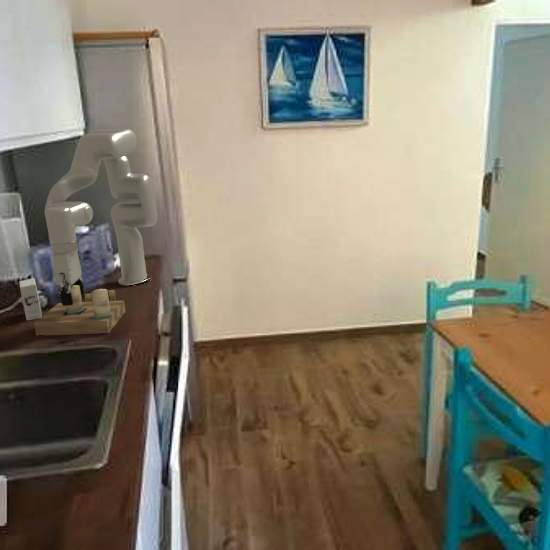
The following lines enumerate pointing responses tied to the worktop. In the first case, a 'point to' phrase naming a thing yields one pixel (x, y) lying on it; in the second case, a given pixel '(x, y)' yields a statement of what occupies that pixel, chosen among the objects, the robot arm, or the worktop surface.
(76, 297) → the peg
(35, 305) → the ink box
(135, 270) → the robot arm
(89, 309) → the board
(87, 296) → the gavel
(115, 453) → the worktop surface
